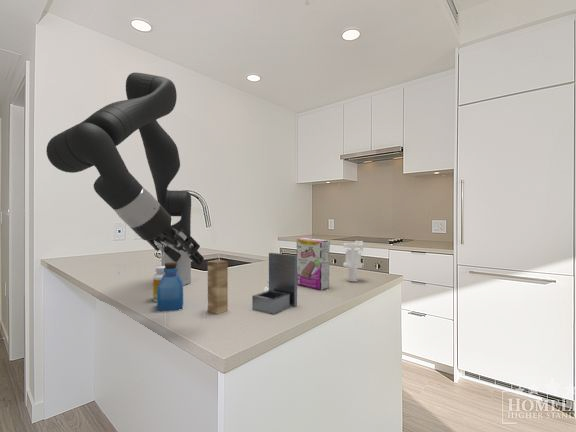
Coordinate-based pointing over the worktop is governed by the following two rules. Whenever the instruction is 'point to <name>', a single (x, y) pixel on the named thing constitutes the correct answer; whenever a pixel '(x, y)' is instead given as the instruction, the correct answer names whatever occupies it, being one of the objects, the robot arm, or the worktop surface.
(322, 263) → the candy bar box
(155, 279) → the supplement bottle
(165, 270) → the perfume bottle
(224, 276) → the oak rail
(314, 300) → the worktop surface
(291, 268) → the grey holder with backboard
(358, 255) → the white upright piece
